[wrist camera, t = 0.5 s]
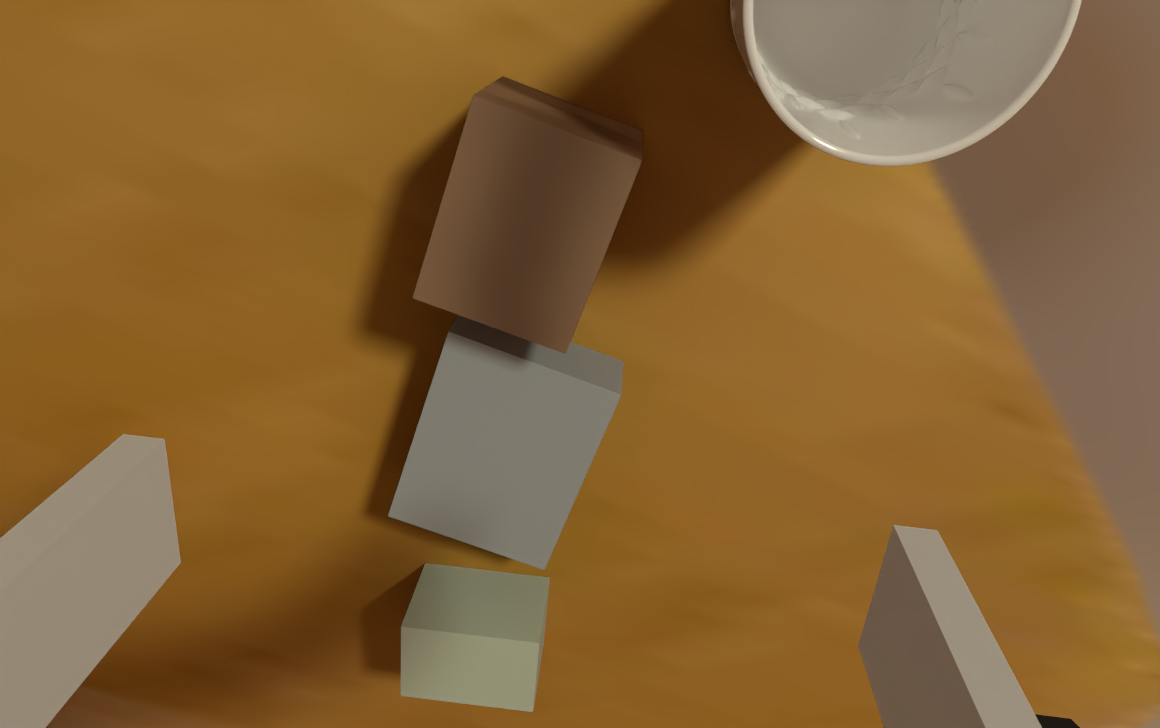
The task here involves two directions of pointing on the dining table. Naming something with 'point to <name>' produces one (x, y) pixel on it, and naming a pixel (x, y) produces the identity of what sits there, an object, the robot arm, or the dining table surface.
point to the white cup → (899, 69)
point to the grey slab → (506, 440)
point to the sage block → (474, 637)
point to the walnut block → (528, 212)
